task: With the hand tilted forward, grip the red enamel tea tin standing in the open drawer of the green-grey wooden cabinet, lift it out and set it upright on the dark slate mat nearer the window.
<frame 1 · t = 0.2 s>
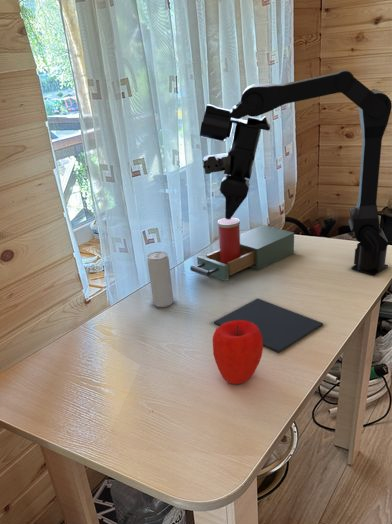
hand: (229, 212, 125), 15 cm above the table, tool tilted 15°, fingers open, 9 cm apart
tea tin: (230, 262, 132), point 2 cm above the table, touching drawer
drawer: (223, 262, 131), point 3 cm above the table, slide at 10.0 cm, touching tea tin
cabinet: (260, 256, 140), on the table
mat: (267, 324, 108), on the table
apple: (239, 379, 93), on the table
beverage can: (163, 304, 120), on the table
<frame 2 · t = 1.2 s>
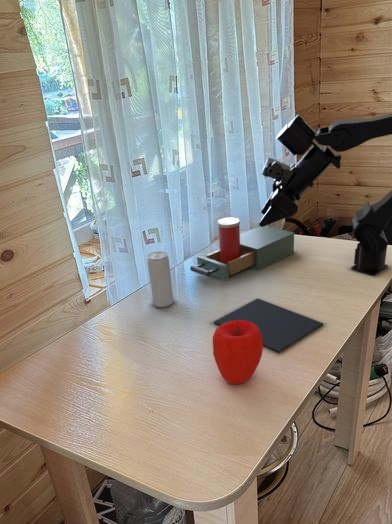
hand: (261, 219, 125), 13 cm above the table, tool tilted 45°, fingers open, 9 cm apart
nothing on the table moved.
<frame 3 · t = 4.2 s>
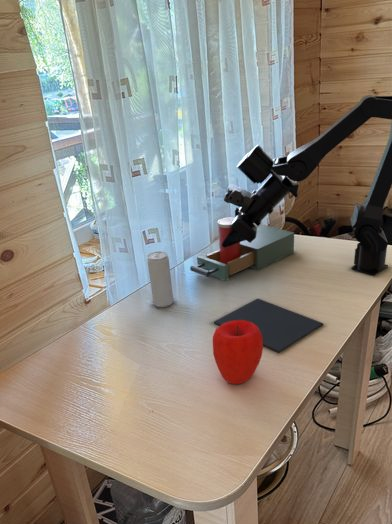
hand: (224, 242, 130), 8 cm above the table, tool tilted 45°, fingers closed on tea tin, 5 cm apart
tea tin: (230, 262, 132), point 2 cm above the table, touching drawer, gripper
everything else where it was.
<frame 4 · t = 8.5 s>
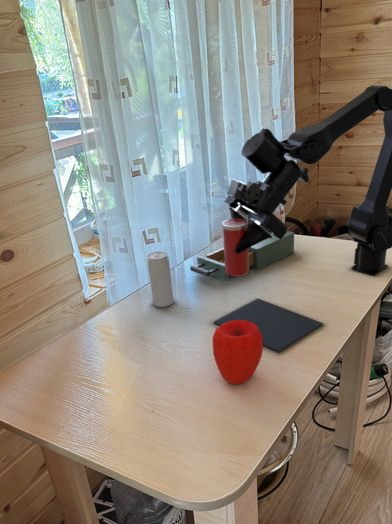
hand: (230, 248, 110), 13 cm above the table, tool tilted 45°, fingers closed on tea tin, 5 cm apart
tea tin: (237, 271, 113), point 8 cm above the table, touching gripper
drawer: (223, 262, 131), point 3 cm above the table, slide at 10.0 cm
everything else where it was.
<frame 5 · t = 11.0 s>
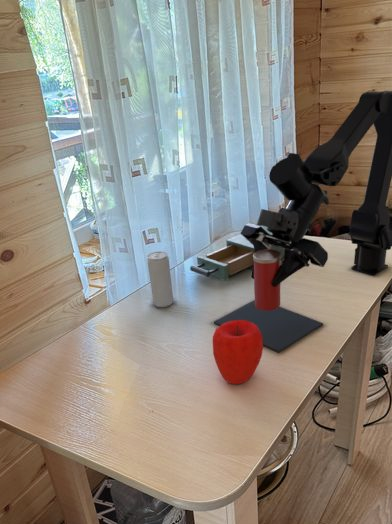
hand: (262, 282, 102), 10 cm above the table, tool tilted 45°, fingers closed on tea tin, 5 cm apart
tea tin: (267, 304, 106), point 5 cm above the table, touching gripper
everything else where it was.
when the fingers open (6 cm above the table, at t = 12.7 s): tea tin stays where it is, resting on mat.
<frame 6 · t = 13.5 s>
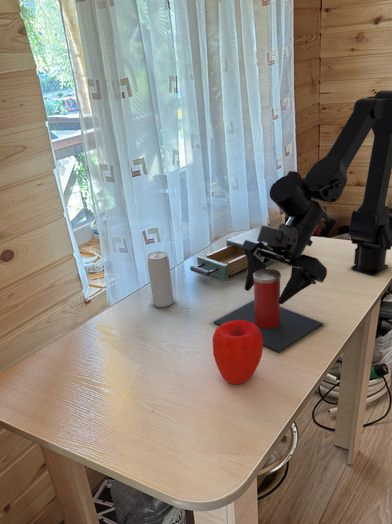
hand: (262, 296, 104), 7 cm above the table, tool tilted 45°, fingers open, 9 cm apart
tea tin: (267, 322, 108), resting on mat
everything else where it was.
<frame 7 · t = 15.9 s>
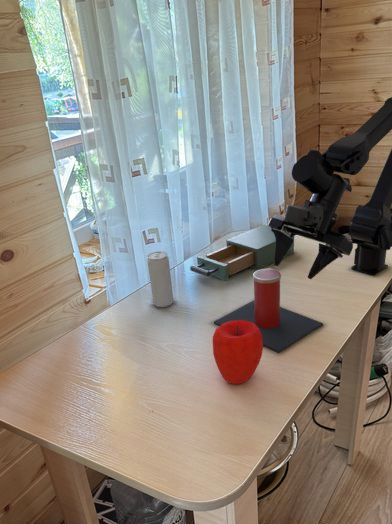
hand: (291, 272, 109), 8 cm above the table, tool tilted 35°, fingers open, 9 cm apart
nothing on the table moved.
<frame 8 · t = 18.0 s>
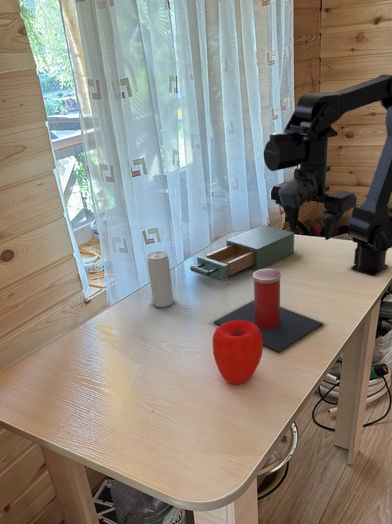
hand: (310, 235, 114), 13 cm above the table, tool pointing down, fingers open, 9 cm apart
nothing on the table moved.
at the end: tea tin inside the target area on the mat (0.0 cm from its centre), point 0.5 cm above the mat's base; tea tin tilted 0°; the gripper is holding nothing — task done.
